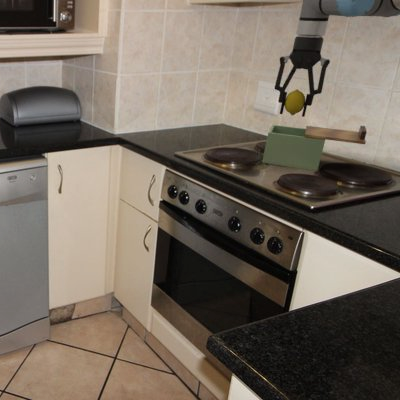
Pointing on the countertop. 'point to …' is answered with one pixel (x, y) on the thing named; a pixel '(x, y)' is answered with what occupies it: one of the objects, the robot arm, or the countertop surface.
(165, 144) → the countertop surface
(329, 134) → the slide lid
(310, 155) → the caddy
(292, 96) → the lemon
